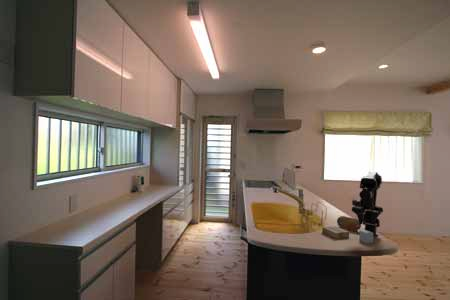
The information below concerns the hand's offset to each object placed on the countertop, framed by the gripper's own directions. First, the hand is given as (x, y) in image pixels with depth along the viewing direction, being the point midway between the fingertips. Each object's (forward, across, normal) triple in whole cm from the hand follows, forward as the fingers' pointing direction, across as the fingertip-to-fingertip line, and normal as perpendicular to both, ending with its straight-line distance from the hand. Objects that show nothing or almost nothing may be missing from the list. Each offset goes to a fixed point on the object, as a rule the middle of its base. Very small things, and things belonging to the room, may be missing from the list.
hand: (366, 223), depth 142 cm
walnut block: (+11, +11, -13) cm, 20 cm away
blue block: (+11, 0, 0) cm, 11 cm away
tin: (+11, -8, -21) cm, 25 cm away
